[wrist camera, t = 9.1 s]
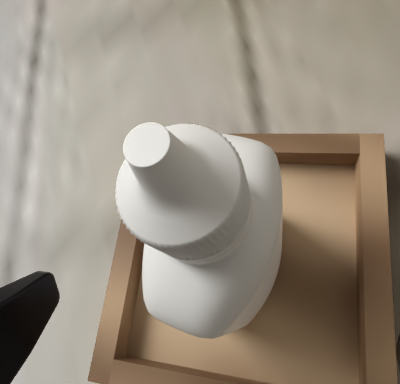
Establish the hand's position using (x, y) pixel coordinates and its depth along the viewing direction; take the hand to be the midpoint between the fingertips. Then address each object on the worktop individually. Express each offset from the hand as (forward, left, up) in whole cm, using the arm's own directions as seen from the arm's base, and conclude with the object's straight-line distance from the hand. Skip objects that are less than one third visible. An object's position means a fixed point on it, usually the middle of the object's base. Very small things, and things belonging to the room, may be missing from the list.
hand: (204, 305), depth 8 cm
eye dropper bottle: (+2, +1, -7) cm, 8 cm away
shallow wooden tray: (+2, +1, -7) cm, 8 cm away
